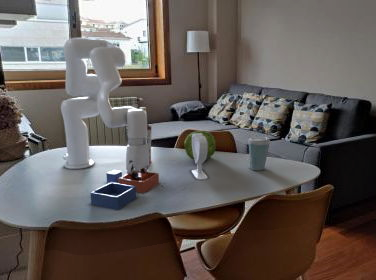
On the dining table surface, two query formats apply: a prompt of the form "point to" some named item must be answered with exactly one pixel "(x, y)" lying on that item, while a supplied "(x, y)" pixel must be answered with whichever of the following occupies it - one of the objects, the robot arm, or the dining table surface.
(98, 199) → the blue bin
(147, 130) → the liquor
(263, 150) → the disposable coffee cup
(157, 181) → the rust bin
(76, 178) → the dining table surface
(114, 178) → the blue block
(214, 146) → the lettuce
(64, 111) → the robot arm
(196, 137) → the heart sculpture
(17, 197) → the dining table surface
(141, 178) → the rust block
